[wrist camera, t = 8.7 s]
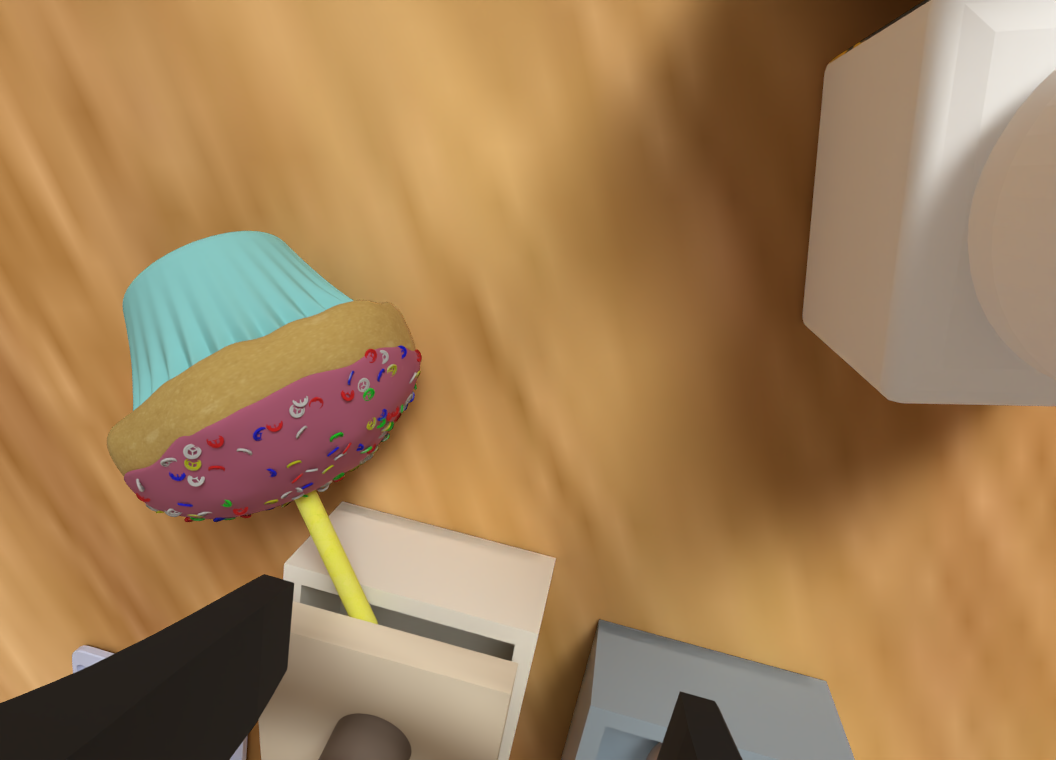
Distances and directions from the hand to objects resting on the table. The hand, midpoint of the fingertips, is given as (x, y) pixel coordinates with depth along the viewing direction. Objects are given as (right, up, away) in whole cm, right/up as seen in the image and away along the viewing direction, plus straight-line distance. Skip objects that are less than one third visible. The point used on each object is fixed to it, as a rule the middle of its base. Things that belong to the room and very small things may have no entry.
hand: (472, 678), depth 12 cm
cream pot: (-3, -4, +13) cm, 13 cm away
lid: (-3, -5, +8) cm, 10 cm away
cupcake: (-8, +9, +7) cm, 14 cm away
